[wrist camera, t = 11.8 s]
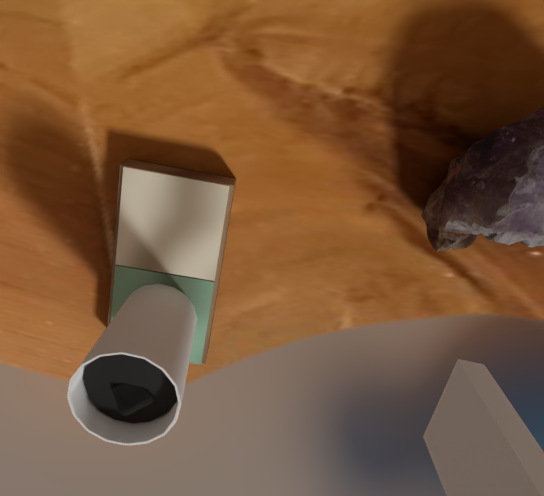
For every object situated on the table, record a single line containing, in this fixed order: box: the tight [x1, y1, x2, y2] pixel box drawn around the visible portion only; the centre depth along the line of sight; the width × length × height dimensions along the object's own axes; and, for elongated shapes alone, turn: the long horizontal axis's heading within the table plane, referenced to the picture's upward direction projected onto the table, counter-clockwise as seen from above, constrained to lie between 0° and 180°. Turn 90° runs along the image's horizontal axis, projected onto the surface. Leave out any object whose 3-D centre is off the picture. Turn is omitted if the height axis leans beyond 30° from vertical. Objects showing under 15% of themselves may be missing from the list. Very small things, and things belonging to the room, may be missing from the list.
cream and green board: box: [107, 159, 236, 364], centre depth 39 cm, size 8×15×2 cm, turn 169°
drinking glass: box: [67, 284, 197, 446], centre depth 34 cm, size 7×7×10 cm
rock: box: [421, 108, 544, 251], centre depth 33 cm, size 12×9×10 cm
